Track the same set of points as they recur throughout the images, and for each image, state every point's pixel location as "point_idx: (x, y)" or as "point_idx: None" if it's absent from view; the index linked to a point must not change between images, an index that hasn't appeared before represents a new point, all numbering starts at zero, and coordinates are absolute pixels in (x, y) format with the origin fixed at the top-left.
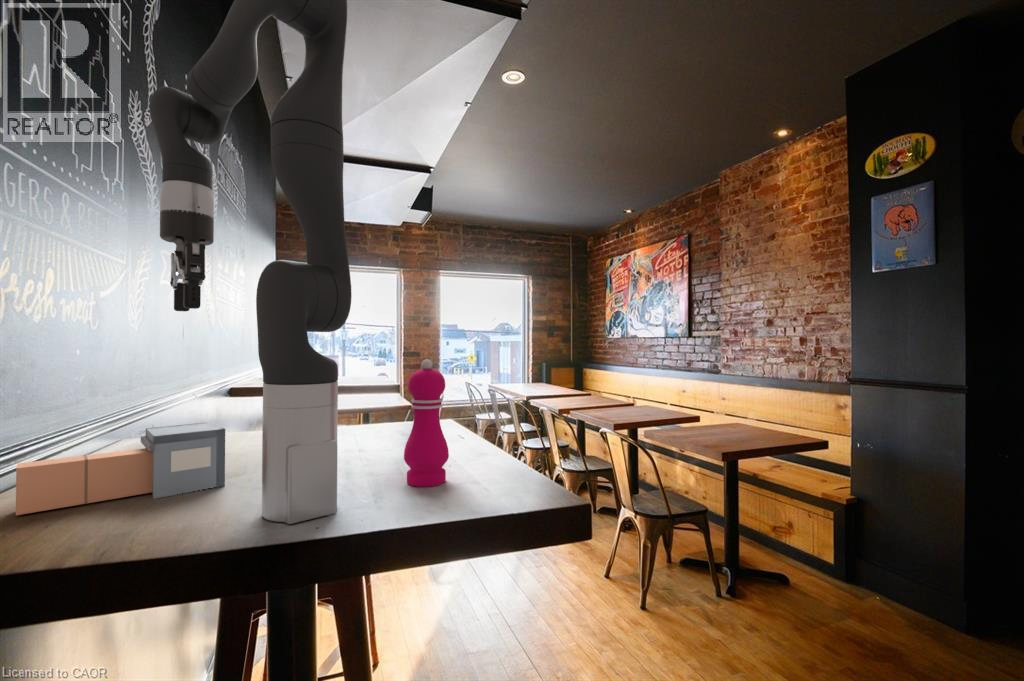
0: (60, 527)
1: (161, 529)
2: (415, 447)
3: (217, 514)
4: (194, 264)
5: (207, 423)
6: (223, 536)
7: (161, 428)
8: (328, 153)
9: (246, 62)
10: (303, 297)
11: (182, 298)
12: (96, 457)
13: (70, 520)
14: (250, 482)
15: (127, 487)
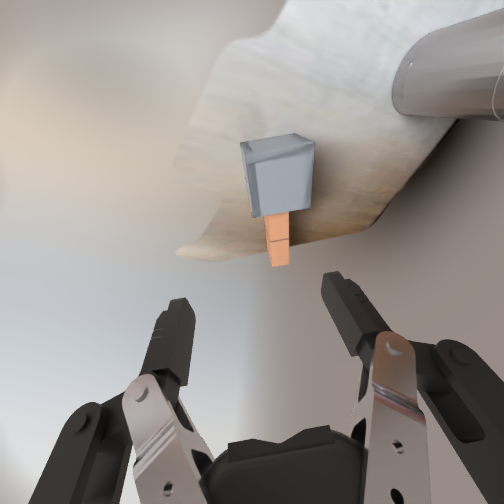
0: (316, 225)
1: (366, 180)
2: None
3: (368, 146)
4: (478, 441)
5: (255, 160)
6: (413, 146)
7: (264, 205)
8: None
9: None
10: None
11: (183, 342)
12: (284, 234)
13: (307, 224)
14: (296, 105)
15: None
